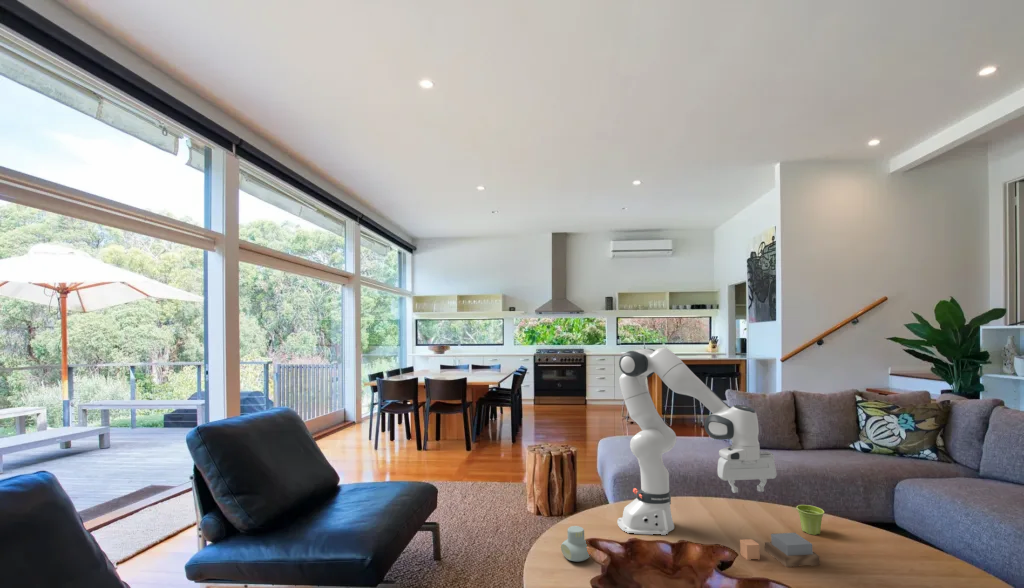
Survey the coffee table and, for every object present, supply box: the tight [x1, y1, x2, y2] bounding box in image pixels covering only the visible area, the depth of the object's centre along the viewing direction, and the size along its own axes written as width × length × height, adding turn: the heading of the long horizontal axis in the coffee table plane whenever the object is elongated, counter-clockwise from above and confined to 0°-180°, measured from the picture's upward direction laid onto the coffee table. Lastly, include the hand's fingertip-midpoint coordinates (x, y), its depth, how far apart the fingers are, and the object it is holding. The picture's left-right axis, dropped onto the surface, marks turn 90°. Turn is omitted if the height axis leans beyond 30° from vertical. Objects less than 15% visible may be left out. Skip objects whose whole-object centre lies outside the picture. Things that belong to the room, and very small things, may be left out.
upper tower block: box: [770, 532, 814, 556], centre depth 172 cm, size 9×9×4 cm
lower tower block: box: [764, 541, 821, 568], centre depth 172 cm, size 12×12×4 cm
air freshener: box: [560, 525, 591, 563], centre depth 173 cm, size 11×8×10 cm
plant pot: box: [796, 504, 825, 536], centre depth 192 cm, size 9×9×9 cm
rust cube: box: [739, 538, 761, 561], centre depth 173 cm, size 4×4×5 cm
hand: (747, 491), depth 174 cm, fingers open, 8 cm apart
